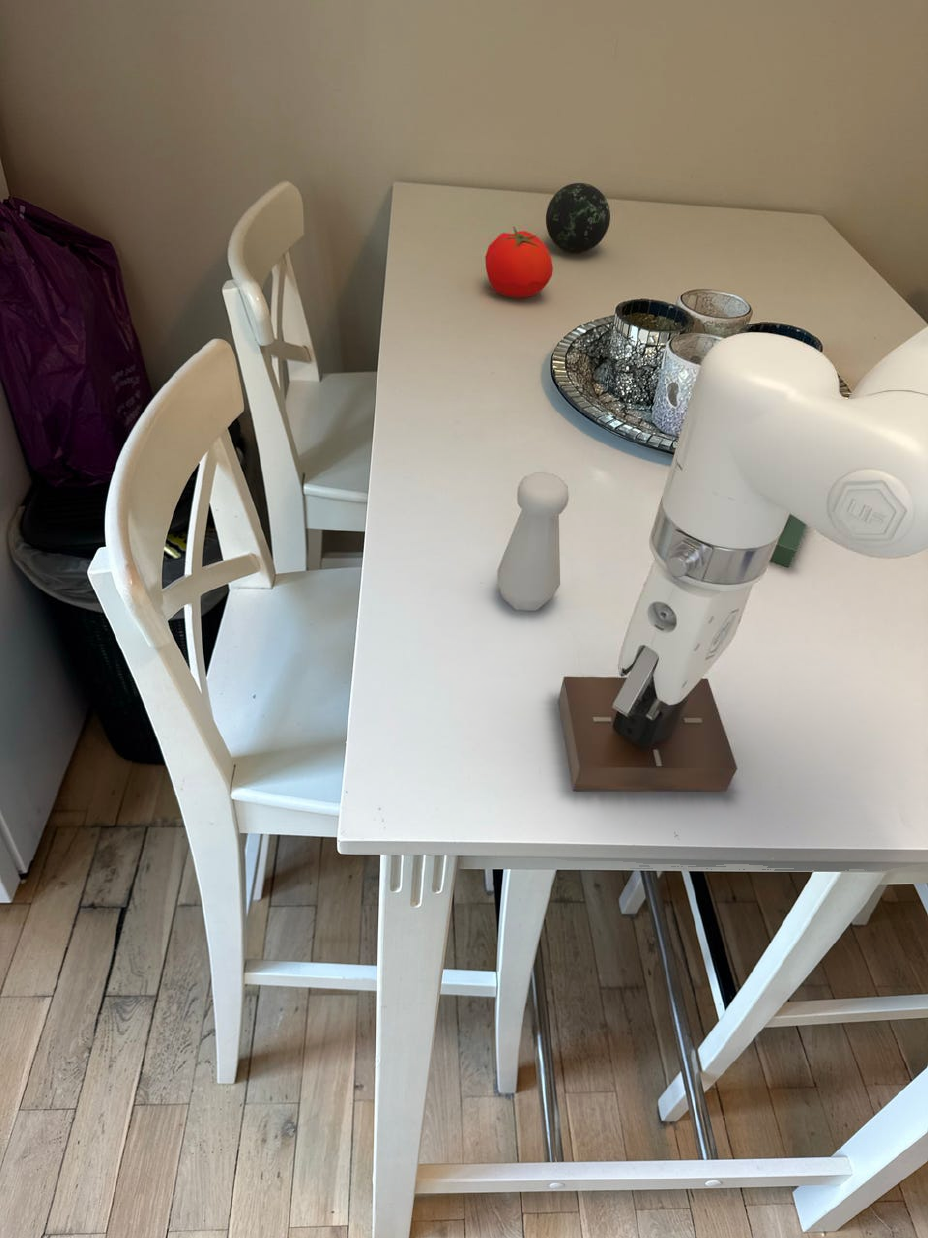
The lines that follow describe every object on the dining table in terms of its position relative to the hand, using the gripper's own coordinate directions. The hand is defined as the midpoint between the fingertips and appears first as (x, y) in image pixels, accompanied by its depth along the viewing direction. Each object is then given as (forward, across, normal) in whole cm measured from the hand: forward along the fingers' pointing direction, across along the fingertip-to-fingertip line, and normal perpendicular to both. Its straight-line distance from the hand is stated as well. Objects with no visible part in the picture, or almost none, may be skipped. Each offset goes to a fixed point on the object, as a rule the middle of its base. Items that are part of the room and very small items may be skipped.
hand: (649, 716), depth 68 cm
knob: (0, 0, 0) cm, 0 cm away
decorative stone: (+4, +80, +59) cm, 99 cm away
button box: (+4, +32, +6) cm, 33 cm away
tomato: (+4, +60, +56) cm, 82 cm away
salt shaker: (+4, +8, +17) cm, 19 cm away
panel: (+4, 0, 0) cm, 4 cm away
